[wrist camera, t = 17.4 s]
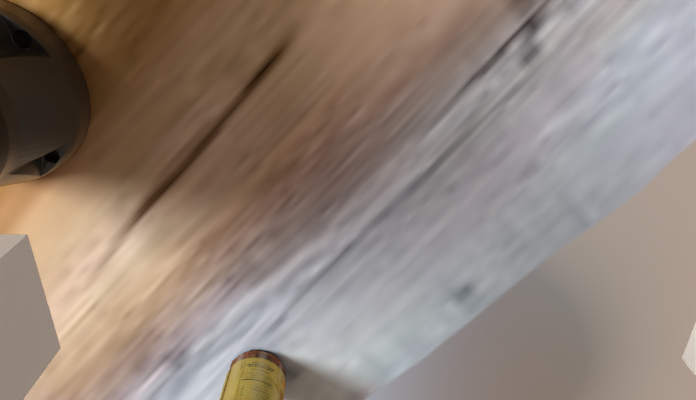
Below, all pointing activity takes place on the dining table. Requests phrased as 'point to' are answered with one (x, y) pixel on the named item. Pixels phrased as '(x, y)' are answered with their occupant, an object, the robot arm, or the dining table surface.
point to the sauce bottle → (254, 378)
